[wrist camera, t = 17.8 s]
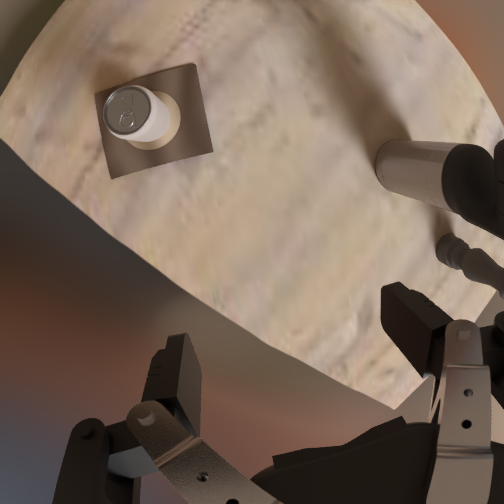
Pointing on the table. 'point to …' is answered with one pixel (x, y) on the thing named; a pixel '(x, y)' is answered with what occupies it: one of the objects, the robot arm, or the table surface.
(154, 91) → the rest board
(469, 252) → the candle holder
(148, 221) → the table surface
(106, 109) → the can
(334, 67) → the table surface
